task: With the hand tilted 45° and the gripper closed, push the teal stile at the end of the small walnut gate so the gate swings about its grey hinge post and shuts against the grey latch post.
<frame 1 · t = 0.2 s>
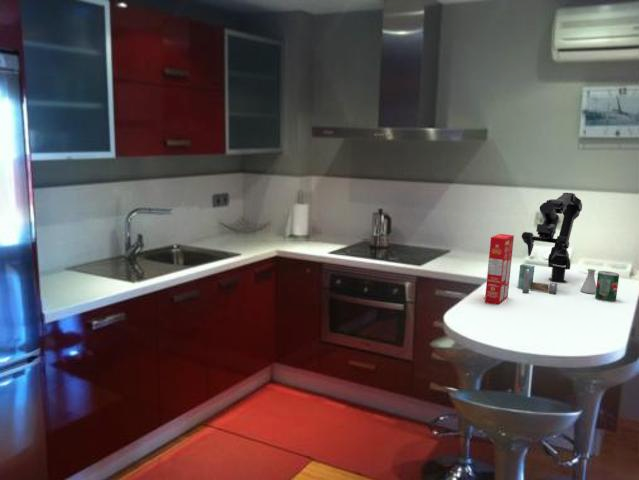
hand: (539, 257, 253), 14 cm above the breakfast bar, tool tilted 35°, fingers open, 9 cm apart
canned tomato: (605, 299, 244), on the breakfast bar
food packaging: (496, 300, 233), on the breakfast bar
latch post: (525, 293, 248), on the breakfast bar
hinge post: (552, 293, 250), on the breakfast bar
gate: (534, 278, 253), point 5 cm above the breakfast bar, hinge at -28.0°
flask: (588, 292, 256), on the breakfast bar
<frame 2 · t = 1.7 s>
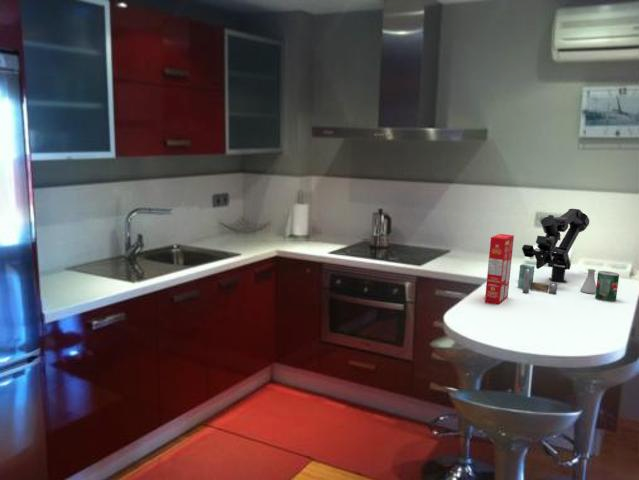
hand: (537, 268, 259), 8 cm above the breakfast bar, tool tilted 45°, fingers closed
nothing on the breakfast bar moved.
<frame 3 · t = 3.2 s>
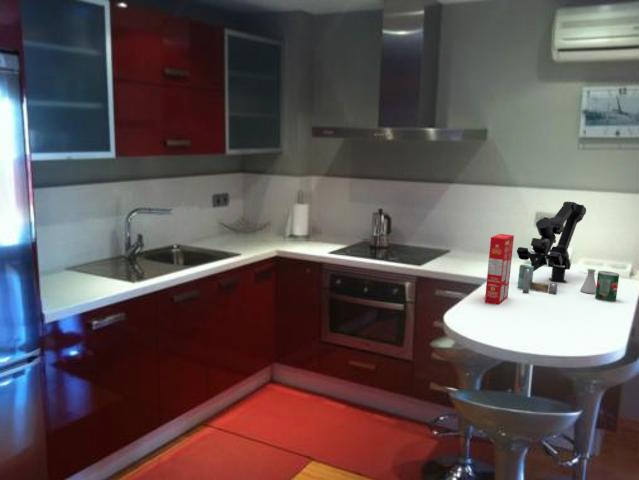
hand: (531, 270, 255), 8 cm above the breakfast bar, tool tilted 45°, fingers closed, pressing on gate
gate: (534, 278, 253), point 5 cm above the breakfast bar, hinge at -24.2°, touching gripper
everything else where it was.
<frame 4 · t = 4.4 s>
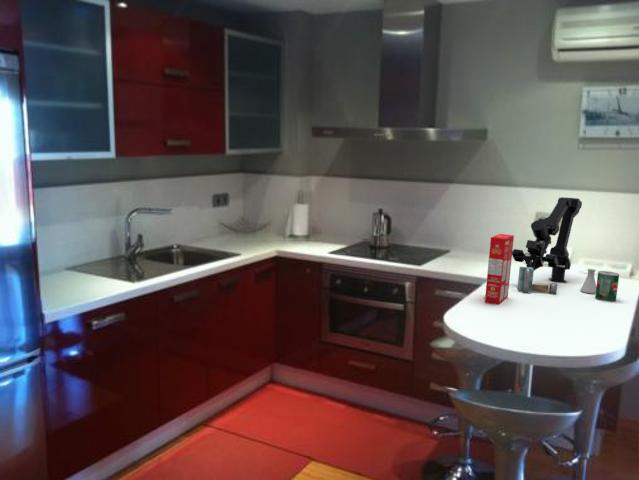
hand: (527, 273, 252), 7 cm above the breakfast bar, tool tilted 45°, fingers closed
gate: (534, 279, 250), point 5 cm above the breakfast bar, hinge at 1.7°, touching gripper
everything else where it was.
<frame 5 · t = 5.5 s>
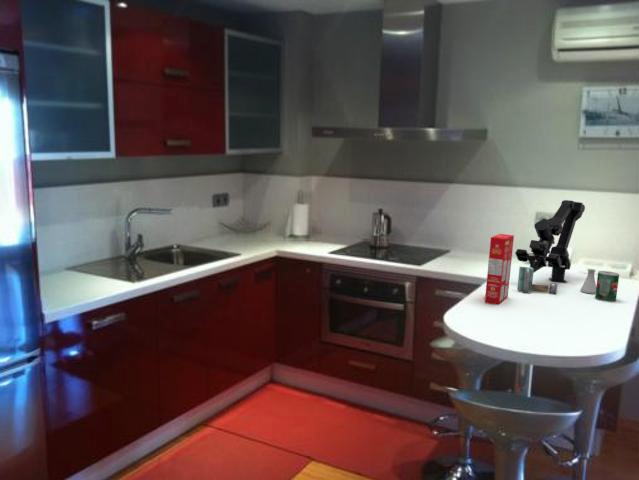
hand: (530, 273, 255), 7 cm above the breakfast bar, tool tilted 45°, fingers closed
gate: (534, 279, 250), point 5 cm above the breakfast bar, hinge at 1.4°
everything else where it was.
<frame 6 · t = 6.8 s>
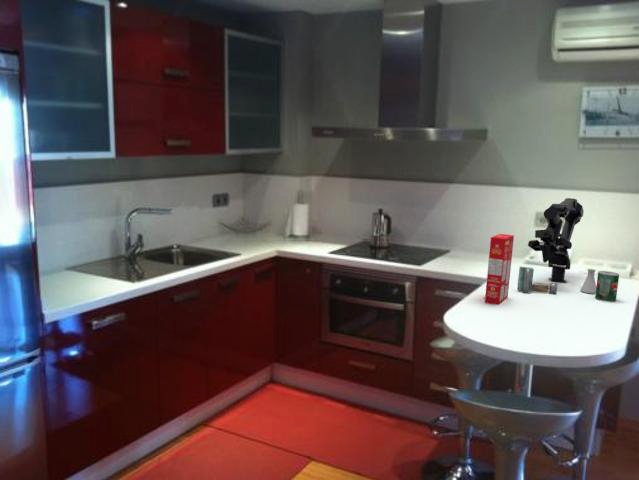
hand: (544, 262, 257), 12 cm above the breakfast bar, tool tilted 30°, fingers closed
nothing on the breakfast bar moved.
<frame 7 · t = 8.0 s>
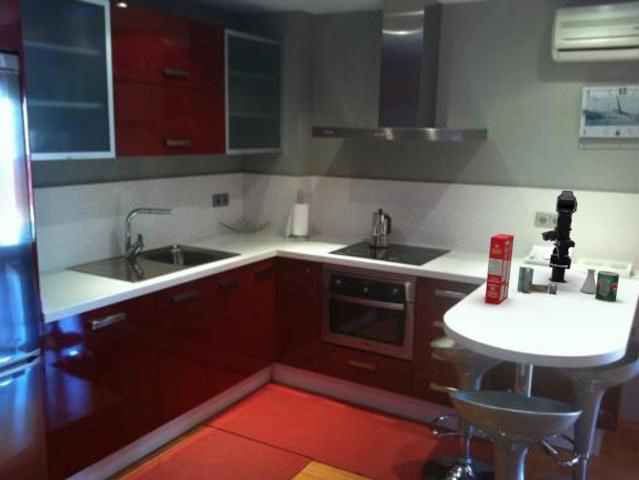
hand: (559, 260, 261), 12 cm above the breakfast bar, tool pointing down, fingers closed
nothing on the breakfast bar moved.
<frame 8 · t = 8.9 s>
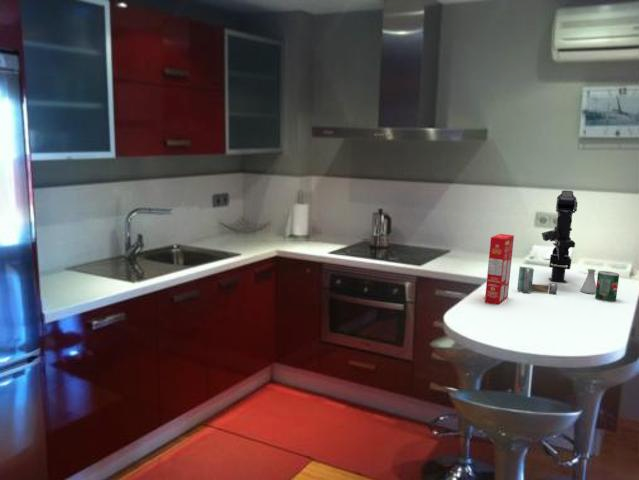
hand: (559, 260, 261), 12 cm above the breakfast bar, tool pointing down, fingers closed
nothing on the breakfast bar moved.
at the end: gate at +1° (first picture: -28°) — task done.
